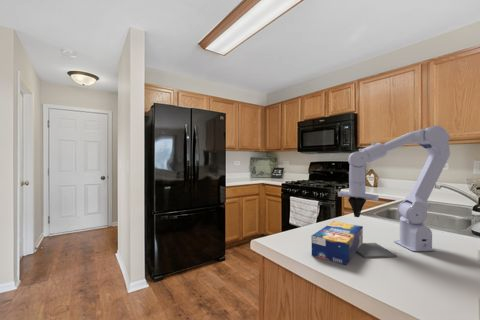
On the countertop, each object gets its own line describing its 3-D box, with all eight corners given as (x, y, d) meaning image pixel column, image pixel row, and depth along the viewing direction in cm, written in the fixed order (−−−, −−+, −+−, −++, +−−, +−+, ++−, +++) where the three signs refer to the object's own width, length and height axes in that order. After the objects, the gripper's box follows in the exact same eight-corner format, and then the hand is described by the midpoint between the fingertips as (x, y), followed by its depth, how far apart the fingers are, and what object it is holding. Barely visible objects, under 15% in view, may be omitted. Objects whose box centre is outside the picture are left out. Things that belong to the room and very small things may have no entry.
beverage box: (333, 221, 94) (311, 235, 77) (363, 226, 86) (346, 243, 70) (333, 237, 94) (311, 255, 77) (363, 244, 87) (346, 265, 70)
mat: (397, 257, 75) (397, 255, 75) (364, 258, 75) (364, 256, 75) (375, 244, 86) (375, 242, 86) (347, 245, 86) (347, 243, 86)
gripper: (381, 182, 88) (381, 218, 88) (343, 180, 98) (343, 211, 98) (374, 184, 83) (374, 221, 83) (335, 181, 94) (335, 214, 94)
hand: (357, 216), depth 90 cm, fingers closed
